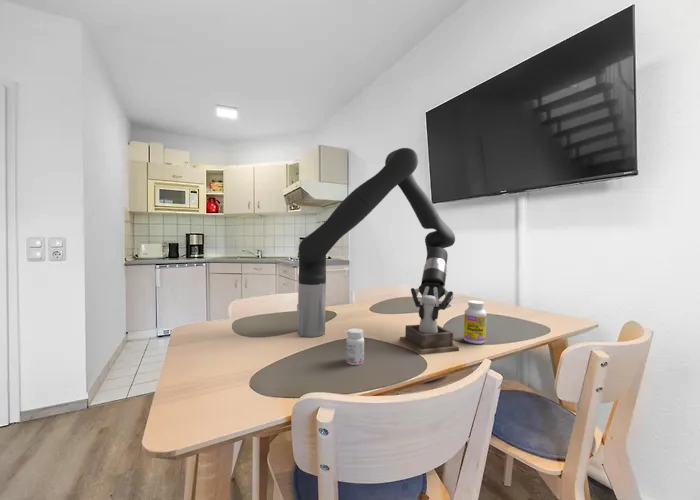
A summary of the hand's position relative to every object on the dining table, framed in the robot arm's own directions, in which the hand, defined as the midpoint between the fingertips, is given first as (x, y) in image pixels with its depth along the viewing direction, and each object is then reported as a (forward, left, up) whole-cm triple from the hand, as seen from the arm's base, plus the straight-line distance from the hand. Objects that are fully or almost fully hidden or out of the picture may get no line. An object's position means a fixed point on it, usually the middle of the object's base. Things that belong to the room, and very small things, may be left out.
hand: (427, 318), depth 96 cm
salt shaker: (+1, +2, -7) cm, 7 cm away
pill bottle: (-25, -6, -9) cm, 27 cm away
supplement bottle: (+18, +1, -9) cm, 20 cm away
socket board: (+1, +1, -9) cm, 9 cm away
